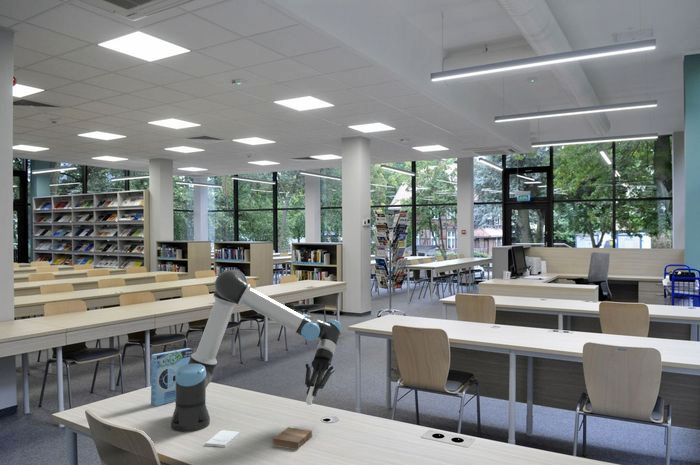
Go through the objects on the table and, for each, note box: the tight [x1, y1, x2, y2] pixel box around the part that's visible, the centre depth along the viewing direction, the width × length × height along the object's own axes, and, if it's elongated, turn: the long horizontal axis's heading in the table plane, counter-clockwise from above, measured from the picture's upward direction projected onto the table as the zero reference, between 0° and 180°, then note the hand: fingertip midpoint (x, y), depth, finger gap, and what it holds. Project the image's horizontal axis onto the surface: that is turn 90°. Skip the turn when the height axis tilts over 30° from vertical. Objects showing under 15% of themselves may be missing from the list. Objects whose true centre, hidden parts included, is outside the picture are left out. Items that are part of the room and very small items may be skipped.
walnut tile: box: [272, 427, 313, 450], centre depth 184 cm, size 3×10×12 cm
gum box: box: [150, 347, 194, 407], centre depth 233 cm, size 20×5×23 cm, turn 141°
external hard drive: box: [204, 429, 241, 448], centre depth 186 cm, size 2×8×12 cm
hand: (308, 402), depth 197 cm, fingers closed
